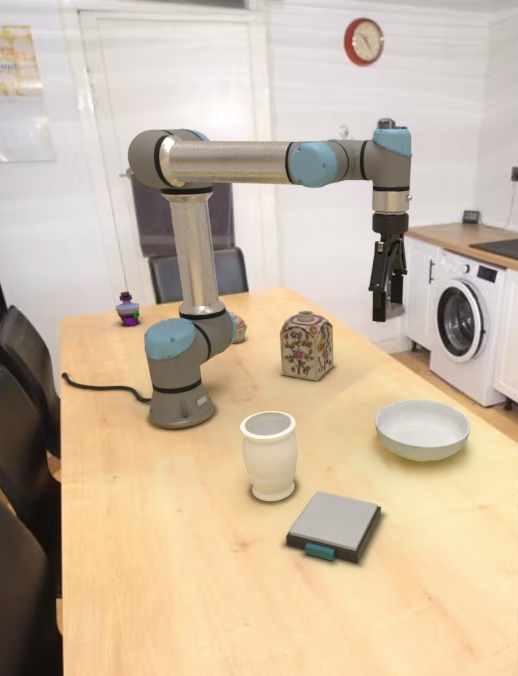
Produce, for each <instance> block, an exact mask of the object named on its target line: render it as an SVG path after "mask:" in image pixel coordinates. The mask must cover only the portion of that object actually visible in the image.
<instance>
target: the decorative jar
mask: <svg viewBox="0 0 518 676" xmlns="http://www.w3.org/2000/svg"><path fill="white" fill-rule="evenodd" d="M333 331H334V328H333V324H332V323H331V322H330V321H329V320H328V319H327V318H326V317H324V316H323V315H320V314H315V313H314V311H311V310H301V311H298V312H297V314H294V315H291V316H289V317H288V318H287V319H285V320H284V323H283V324H282V326H281V329H280V331H279V340H280V341H279V342H280V343H279V345H280V361H281V372H282V376H287V377H291V378H297V379H302V380H303V379H304V380H309V381H316V382H318V381H319V380H320V379H321V378H322V377H323V376H325V374H326V373H328V372H329V370H331V369H332V368H333V367H334V333H333Z"/></svg>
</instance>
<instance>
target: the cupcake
mask: <svg viewBox="0 0 518 676" xmlns="http://www.w3.org/2000/svg"><path fill="white" fill-rule="evenodd" d="M230 315H231V316H233V318H234V320H235V323H236V336H235V339H234V341H233V342H232V344H239V343H241V342H244V340H245V336H246V331H247V329H248V324H247V323H246V322H245V320H244V319H243V318H242V317H241V316H240V315H237V314H235V312H234V311H230Z"/></svg>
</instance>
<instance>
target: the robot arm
mask: <svg viewBox="0 0 518 676" xmlns="http://www.w3.org/2000/svg"><path fill="white" fill-rule="evenodd" d="M412 157H413V153H412V134H411V131H410V130H408V129H407V128H377V129H375V130H374V131H373V133H372V138H371V139H366V140H365V139H364V140H363V139H362V140H361V139H360V140H359V139H335V138H333V139H332V138H331V139H325V140H324V139H323V140H309V141H306V140H303V141H301V140H299V141H293V140H292V141H290V140H289V141H287V140H286V141H285V140H284V141H283V140H281V141H279V140H277V141H275V140H270V141H269V140H259V141H258V140H253V141H252V140H210V138H209V137H208V136H207V135H205V134H204V133H202V132H201V131H198V130H195V129H190V128H189V129H187V128H173V129H171V128H170V129H148V130H144V131H142V132H139V133H138V134H136V135H135V136H134V137H133V138H132V140H131V142H130V144H129V146H128V149H127V161H128V165H129V168H130V170H131V172H132V174H133V175H134V176H135V177H136V179H137V180H138V181H139V182H141V183H142V184H143V185H145V186H147V187H149V188H153V189H158V190H159V189H160V195H161V196H162V197H163V198H164V199H166V200H167V201H168V203H169V208H170V209H169V210H170V216H171V217H170V218H171V223H172V231H173V236H174V237H173V238H174V245H175V250H176V258H177V265H178V272H179V279H180V285H181V292H182V299H183V301H182V303H181V304H180V305H179V306H178V315H179V317H174V318H173V317H172V318H167V319H166V320H160V321H157V322H156V323H153V324H152V325H151V326H149V327H148V328H147V329H146V331H145V333H144V335H143V340H144V341H143V342H144V353H145V356H146V361H147V362H146V363H147V367H148V371H149V376H150V382H151V387H152V392H151V393H152V394H151V397H147V398H146V397H142V396H141V395H140V394H139V393H138V391H137V390H136V389H135V388H134V387H131V386H127V385H89V384H82V383H78V382H75V381H73V380H71V379H70V377H69V376H68V373H67V372H63V373H62V374H61V377H62V378H63V377H64V379H65V381H66V382H67V383H68V384H69V385H71V386H74V387H77V388H82V389H90V390H98V391H100V390H101V391H105V390H127V391H130V392H132V393H133V395H134V397H135V398H136V399H137V400H139V401H140V402H143V403H150V406H149V411H148V415H149V420H150V422H151V424H153V425H154V426H155V427H158V428H160V429H166V430H180V429H187V428H191V427H194V426H197V425H198V426H199V425H200V424H202V423H204V422H205V421H207V420H209V419H210V418H211V417H212V415H213V413H214V403H213V400H212V399H211V398H210V396H209V395H208V392H207V390H206V388H205V386H204V384H203V378H202V371H201V366H202V365H204V364H205V363H207V362H208V361H209V360H211V359H213V358H214V357H216V356H217V355H220V354H222V353H224V352H225V351H226V350H227V349H228V348H229V347H230V346H232V344H233V343H232V342H233V341H234V339H235V336H236V323H235V320H234V318H233V316H231V315H230V313H231V311H229V310H228V309H227V308H226V307H227V306H226V303H225V302H224V301H222V300H221V299H220V298H219V291H218V290H219V289H218V281H217V274H216V273H217V272H216V264H215V255H214V247H213V239H212V230H211V219H210V213H209V211H210V210H209V203H208V201H209V199H210V198H211V196H212V195H213V194H214V187H213V183H217V184H219V183H221V184H223V183H224V184H252V185H253V184H255V185H291V186H303V187H304V188H309V189H317V188H319V189H320V188H324V187H325V186H329V185H331V184H337V183H341V182H344V181H345V182H346V181H365V182H367V181H368V182H369V181H372V194H371V195H372V196H371V197H372V198H371V199H372V200H371V210H372V211H373V214H372V216H371V230H372V232H373V233H374V234H375V233H376V234H379V235H380V237H379V238H380V239H379V240H375V241H374V248H373V250H374V251H373V259H372V264H371V265H372V266H371V273H370V278H369V285H368V288H367V290H368V292H372V316H371V317H372V320H371V321H372V322H376V323H378V322H379V323H386V321H387V320H386V319H387V290H386V286H387V281H388V277H389V273H390V269H391V272H392V274H391V275H390V300H389V301H390V304H394V305H395V304H397V305H403V301H404V278H405V277H404V276H407V275H408V272H409V271H408V269H407V268H408V265H407V260H406V259H407V258H406V257H407V256H406V247H405V234H406V233H408V231H409V227H410V226H409V224H410V215H409V213H408V211H409V210H410V201H412V200H413V196H412V195H410V191H411V171H412ZM390 267H391V268H390Z"/></svg>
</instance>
